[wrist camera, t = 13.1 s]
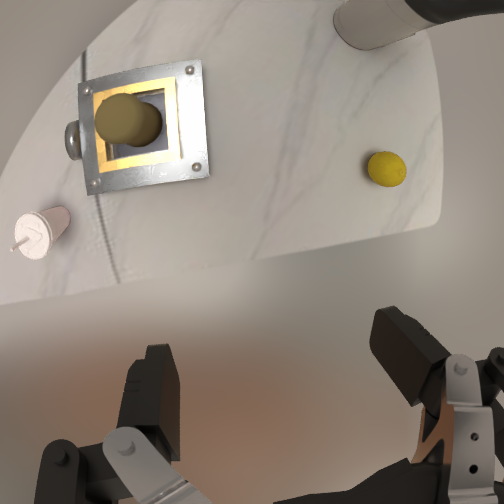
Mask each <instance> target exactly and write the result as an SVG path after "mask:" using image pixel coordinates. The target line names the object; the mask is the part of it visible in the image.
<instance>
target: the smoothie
mask: <svg viewBox="0 0 504 504" xmlns="http://www.w3.org/2000/svg"><path fill="white" fill-rule="evenodd" d="M69 223H70V214H69V212H68V210H67V209H66V208H64V207H61V206H60V207H55V208H51V209H47V210H43V211H40V212H28V213H25V214H24V215H23V216H21V217H20V218H19V219H18V221H17V223H16V226H15V240H16V244H15V245H13V246H12V247H10V251H11V252H12V251H14V250H15V249H17V248H18V247H19V249H20V251H21V252H22V253H23V254H24V255H25V256H26V257H28V258H30V259H34V260H37V259H41V258H42V257H44V256H45V255H47V254H48V252H49V251H50V249H51V247H52V244H53V243H54V242H55V241H56V239H57V238H58V237H59V236H60V235H61V233H62V232H63V231H64V230H65V229H66V228H67V226H68V225H69Z"/></svg>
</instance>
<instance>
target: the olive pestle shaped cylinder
mask: <svg viewBox="0 0 504 504" xmlns="http://www.w3.org/2000/svg"><path fill="white" fill-rule="evenodd" d="M162 124H163V119H162V115H161V113H160V111H159V110H158V108H157V107H155V106H154V105H152V104H150V103H147V102H141V101H140V100H139V99H138V98H137V97H135V96H134V95H132V94H128V93H117V94H114V95H112V96H109V97H108V98H106V99H105V100H104V101H103V102H102V103H101V104H100V106H99V107H98V109H97V111H96V114H95V119H94V125H95V129H96V132H97V133H98V135H99V137H100V138H101V139H103V140H104V141H105V142H107V143H110V144H124V143H125V144H127V145H129V146H132V147H144V146H147V145H149V144H151V143H152V142H153V141H155V140H156V138H157V137H158V136H159V135H160V132H161V130H162Z"/></svg>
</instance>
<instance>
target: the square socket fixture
mask: <svg viewBox="0 0 504 504" xmlns="http://www.w3.org/2000/svg"><path fill="white" fill-rule="evenodd" d="M117 93H128V94H132V95H134V96H135V97H137V98H138V99H139V100H140V101H141V102H147V103H150V104H152V105H154V106H155V107H157V108H158V110H159V111H160V113H161V115H162V119H163V124H162V130H161V132H160V135H159V136H158V137H157V138H156V140H155V141H153V142H152V143H151V144H149V145H147V146H144V147H132V146H129V145H127V144H125V143H124V144H110V143H107V142H105V141H104V140H103V139H101V138H100V137H99V135H98V133H97V132H96V129H95V125H94V119H95V114H96V111H97V109H98V107H99V106H100V104H101V103H102V102H103V101H104V100H105V99H106V98H108V97H109V96H112V95H114V94H117ZM78 109H79V120H77V121H73V122H70V123H69V124H68V125H67V127H66V130H65V146H66V150H67V153H68V155H69V157H70V158H71V159H72V160H79V159H82V160H83V168H84V176H85V183H86V189H87V195H88V196H89V195H94V194H99V193H104V192H110V191H115V190H121V189H126V188H132V187H138V186H145V185H151V184H158V183H165V182H172V181H180V180H188V179H196V178H205V177H209V167H208V155H207V143H206V129H205V115H204V100H203V83H202V64H201V59H199V60H189V61H181V62H173V63H166V64H160V65H154V66H148V67H143V68H138V69H133V70H128V71H123V72H119V73H115V74H111V75H107V76H103V77H99V78H96V79H92V80H89V81H86V82H82V83H79V84H78Z"/></svg>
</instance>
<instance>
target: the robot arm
mask: <svg viewBox="0 0 504 504" xmlns="http://www.w3.org/2000/svg"><path fill="white" fill-rule="evenodd" d="M497 13H504V0H348V1H347V2H346V3H345V4H343V5H342V6H341V7H340V8H339V9H337V10H336V12H335V14H334V25H335V28H336V30H337V32H338V33H339V35H340V36H341V37H342V38H343V39H344V40H345V41H346V42H347V43H348V44H350V45H351V46H353V47H355V48H358V49H361V50H371V49H374V48H376V47H379V46H380V47H383V46H386V45H388V44H391V43H393V42H396V41H399V40H402V39H404V38H407V37H410V36H413V35H415V33H416V32H418V31H421V30H424V29H427V28H430V27H433V26H436V25H439V24H443V23H446V22H450V21H455V20H459V19H462V18H467V17H472V16H479V15H487V14H497ZM369 343H370V349H371V351H372V353H373V355H374V356H375V357H376V359H377V360H378V361H379V363H380V364H381V365H382V367H383V368H384V369H385V371H386V372H387V373H388V375H389V376H390V378H391V379H392V380H393V382H394V383H395V385H396V386H397V387H398V389H399V390H400V391H401V393H402V394H403V396H404V397H405V398H406V400H407V401H408V403H409V404H410V406H411V407H413V406H415V405H417V404H419V403H421V402H422V403H423V405H424V406H423V408H422V412H421V422H420V430H419V438H418V444H417V449H416V452H415V454H414V456H413V458H412V460H411V463H410V462H409V461H408V459H407V458H405V459H403V460H400V461H399V462H397V463H394V464H392V465H390V466H388V467H385V468H383V469H381V470H379V471H377V472H376V473H374V474H373V475H372V476H370V477H369V478H367V479H366V480H364V481H363V482H361V483H360V484H358V485H357V486H355V487H354V488H352V489H350V490H347V491H341V492H331V493H320V494H308V495H304V496H301V497H296V498H292V499H287V500H283V501H278V502H274V503H273V504H504V478H503V480H502V482H498V481H494V466H495V460H494V459H495V456H494V455H496V456H497V458H498V459H499V461H500V462H501V464H502V466H503V467H504V409H503V407H502V406H501V405H500V403H499V402H498V401H497V400H496V397H497V395H498V394H499V392H500V391H501V390H502V391H503V392H504V348H501V347H497V348H494V349H492V350H491V352H490V354H489V356H488V358H487V359H485V360H480V361H475V362H474V360H473V359H471V358H470V357H468V356H466V355H463V354H454V355H451V354H450V353H449V352H448V351H447V350H446V349H445V348H444V347H443V346H442V345H441V344H440V343H439V342H438V341H437V340H436V339H435V338H434V337H433V336H432V335H430V333H429V332H428V331H427V330H426V329H424V327H423V326H422V325H421V324H420V323H419V322H418V321H417V320H415V319H413V318H412V317H410V316H408V315H404V314H403V313H402V312H401V311H400V310H399V309H398V308H397V307H395V306H390V307H386V308H382V309H378V310H377V311H376V312H375V316H374V321H373V326H372V330H371V336H370V342H369ZM171 461H180V381H179V375H178V372H177V369H176V365H175V362H174V359H173V356H172V352H171V349H170V346H169V344H158V345H157V344H156V345H148V346H147V350H146V355H145V359H141V360H136V361H135V362H134V363H133V364H132V366H131V367H130V368H129V370H128V374H127V379H126V383H125V388H124V392H123V398H122V402H121V407H120V412H119V418H118V423H117V427H116V429H115V430H113V431H111V432H110V433H109V434H108V435H107V436H106V438H105V439H104V441H103V442H102V443H99V444H95V445H90V446H85V447H80V448H77V447H76V446H75V445H74V444H73V443H72V442H70V441H68V440H64V439H59V440H55V441H53V442H51V443H49V444H48V445H47V447H46V448H45V449H44V451H43V455H42V459H41V464H40V469H39V474H38V480H37V487H36V493H35V500H34V504H118V500H119V499H124V498H129V497H135V499H136V500H137V501H138V503H139V504H213V503H212V502H211V501H209V500H208V499H207V498H206V497H205V496H204V495H203V494H202V493H201V492H199V491H198V490H197V489H196V488H195V487H194V486H193V485H192V484H191V483H189V482H188V481H186V480H185V479H184V478H183V477H181V476H180V475H179V474H178V473H177V471H176V470H174V468H173V467H172V466H171Z"/></svg>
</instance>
